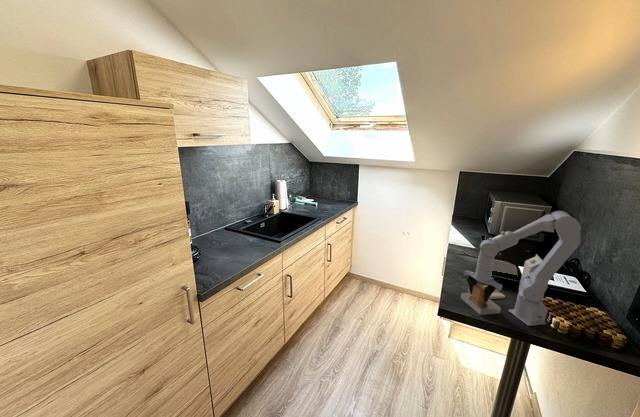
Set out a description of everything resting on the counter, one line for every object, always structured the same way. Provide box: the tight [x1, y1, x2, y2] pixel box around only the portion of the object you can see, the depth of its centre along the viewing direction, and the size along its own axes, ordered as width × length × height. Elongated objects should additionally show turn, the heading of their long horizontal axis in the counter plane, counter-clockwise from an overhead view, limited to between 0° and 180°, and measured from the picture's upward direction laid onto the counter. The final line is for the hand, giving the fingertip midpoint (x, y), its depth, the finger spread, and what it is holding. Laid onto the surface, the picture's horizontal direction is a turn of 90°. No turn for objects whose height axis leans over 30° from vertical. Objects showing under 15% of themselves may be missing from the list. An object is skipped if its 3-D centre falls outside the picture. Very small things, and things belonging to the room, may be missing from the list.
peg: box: [471, 284, 486, 303], centre depth 113 cm, size 4×4×8 cm
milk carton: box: [518, 253, 546, 294], centre depth 119 cm, size 7×7×19 cm
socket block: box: [460, 291, 502, 316], centre depth 113 cm, size 12×9×2 cm
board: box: [483, 285, 506, 300], centre depth 122 cm, size 9×9×1 cm
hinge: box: [491, 259, 518, 280], centre depth 136 cm, size 17×5×10 cm, turn 64°
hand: (479, 296), depth 113 cm, fingers closed on peg, 5 cm apart
